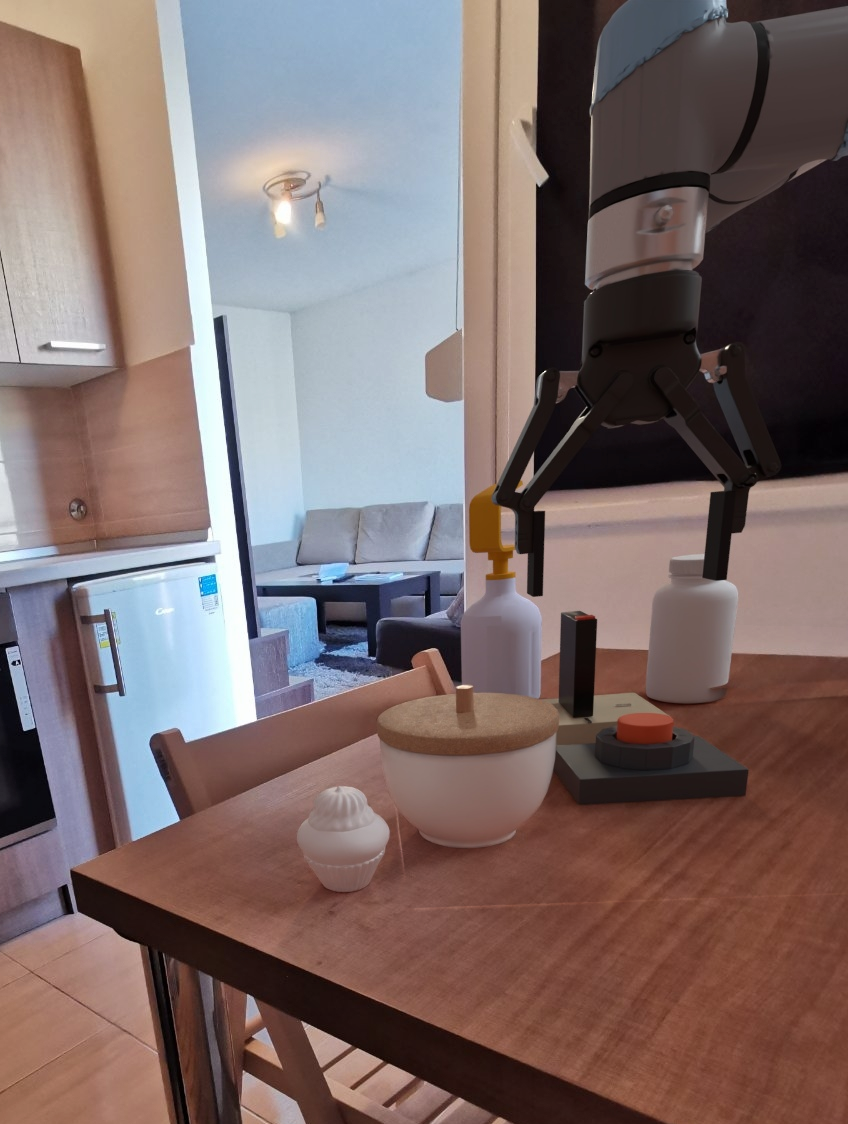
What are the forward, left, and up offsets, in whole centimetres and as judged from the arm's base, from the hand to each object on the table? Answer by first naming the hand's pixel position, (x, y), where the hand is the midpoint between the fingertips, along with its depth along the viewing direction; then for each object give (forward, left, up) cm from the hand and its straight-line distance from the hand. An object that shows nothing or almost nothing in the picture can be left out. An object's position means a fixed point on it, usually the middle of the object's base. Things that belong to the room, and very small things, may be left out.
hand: (622, 587), depth 62 cm
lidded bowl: (+14, +12, -16) cm, 24 cm away
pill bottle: (-14, -22, -16) cm, 30 cm away
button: (-1, +4, -12) cm, 12 cm away
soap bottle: (+5, -27, -16) cm, 31 cm away
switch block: (-1, +4, -15) cm, 16 cm away
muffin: (+23, +20, -16) cm, 34 cm away
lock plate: (+1, -9, -15) cm, 18 cm away
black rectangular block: (+1, -9, -12) cm, 15 cm away
